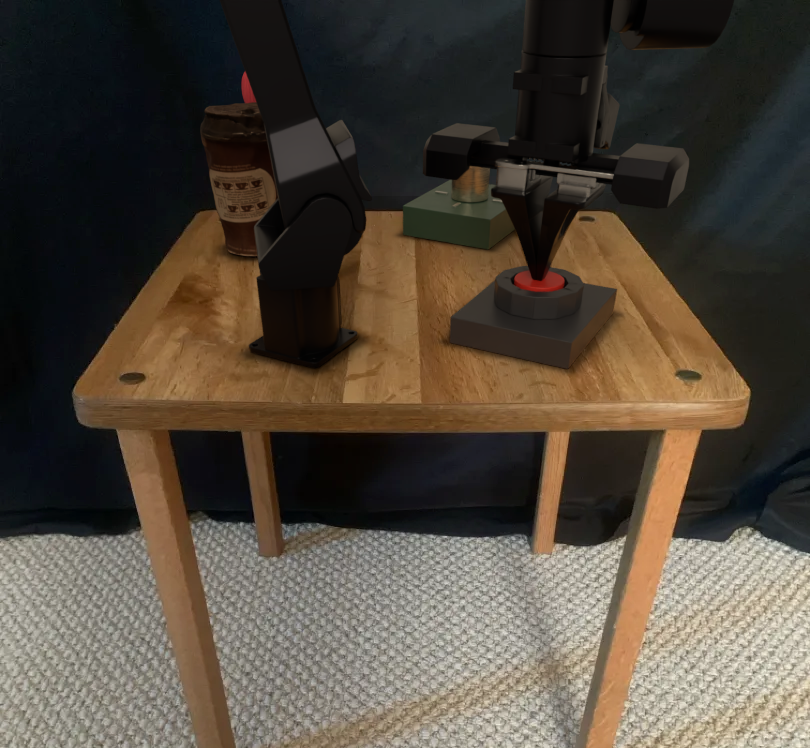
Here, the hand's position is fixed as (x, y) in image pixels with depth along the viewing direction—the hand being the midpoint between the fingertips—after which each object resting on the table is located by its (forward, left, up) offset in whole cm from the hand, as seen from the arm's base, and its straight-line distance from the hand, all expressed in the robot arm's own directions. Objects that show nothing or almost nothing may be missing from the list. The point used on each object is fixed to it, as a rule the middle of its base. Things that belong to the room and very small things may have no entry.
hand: (538, 278), depth 63 cm
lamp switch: (0, 0, -4) cm, 4 cm away
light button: (0, 0, -2) cm, 2 cm away
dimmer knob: (+22, +16, -1) cm, 27 cm away
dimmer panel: (+22, +16, -4) cm, 28 cm away
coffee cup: (+5, +32, -4) cm, 33 cm away
